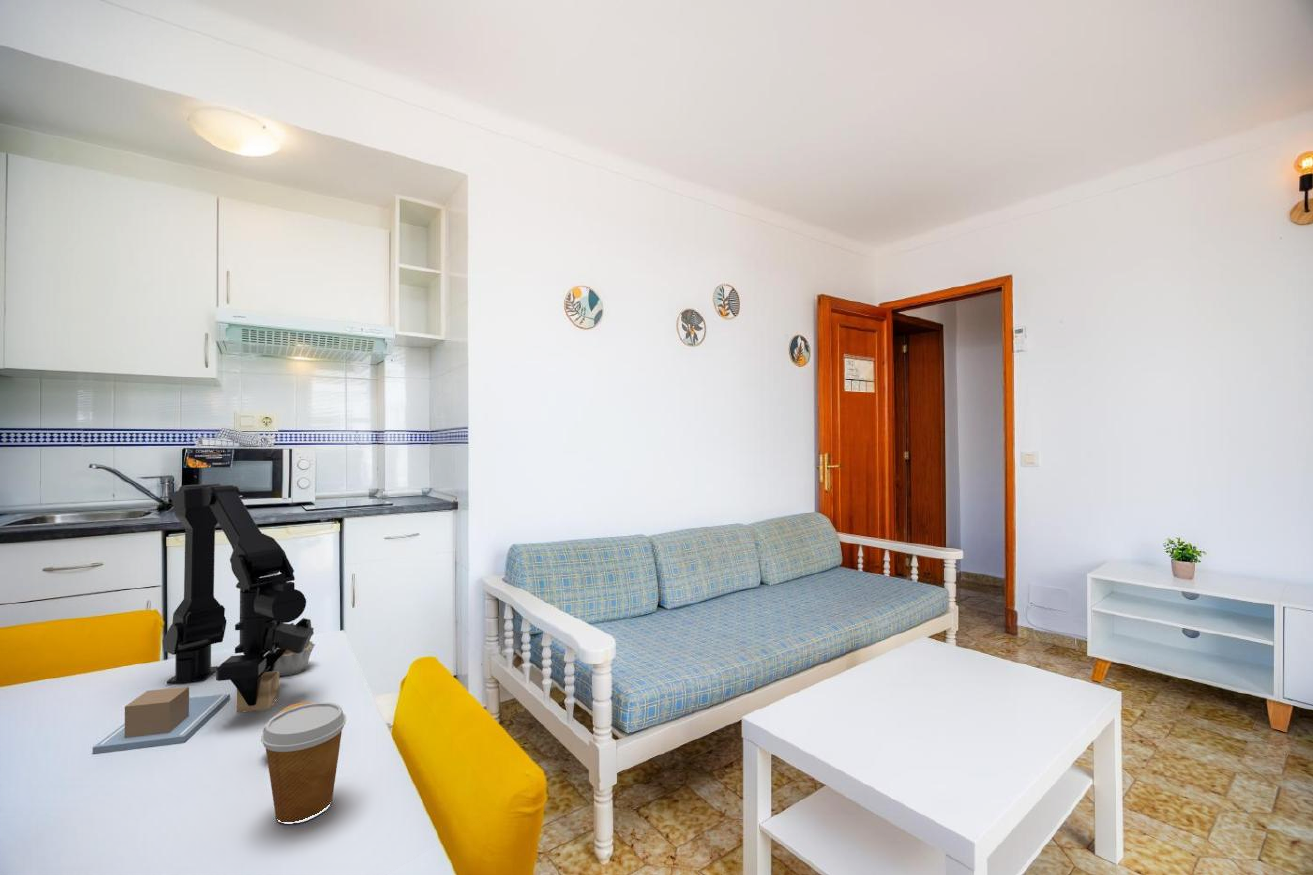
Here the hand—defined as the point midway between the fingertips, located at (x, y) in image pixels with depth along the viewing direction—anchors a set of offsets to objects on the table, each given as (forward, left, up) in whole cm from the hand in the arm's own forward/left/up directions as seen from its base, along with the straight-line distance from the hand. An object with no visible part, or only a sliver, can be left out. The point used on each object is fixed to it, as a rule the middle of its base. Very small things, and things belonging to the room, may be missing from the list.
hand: (258, 698), depth 103 cm
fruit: (+20, +12, -1) cm, 23 cm away
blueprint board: (+4, -12, -1) cm, 13 cm away
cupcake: (-16, 0, -1) cm, 16 cm away
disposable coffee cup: (+36, +18, -1) cm, 40 cm away
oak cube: (0, 0, -1) cm, 1 cm away
